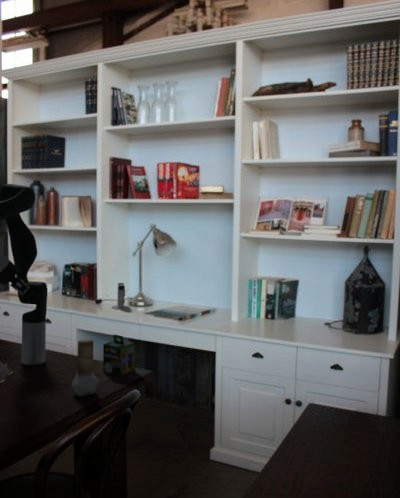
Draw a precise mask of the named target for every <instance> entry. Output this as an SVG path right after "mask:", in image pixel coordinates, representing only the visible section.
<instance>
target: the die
mask: <svg viewBox="0 0 400 498" xmlns="http://www.w3.org/2000/svg"><path fill="white" fill-rule="evenodd" d="M99 382H100V380H99V379H98V377H97V376H96V375H95V373H94V372H93V373H92V374H90V375H79V374H78V373H77V372H76V374H75V376H74V377H73V381H72V383H71V387H72V389H73V390H74V392H75V393H76V394H77V396H78V397H80V398H81V397H86V396H89V395H91V394H92V395H94V394H95V391H96V389H97V387H98V384H99Z"/></svg>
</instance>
